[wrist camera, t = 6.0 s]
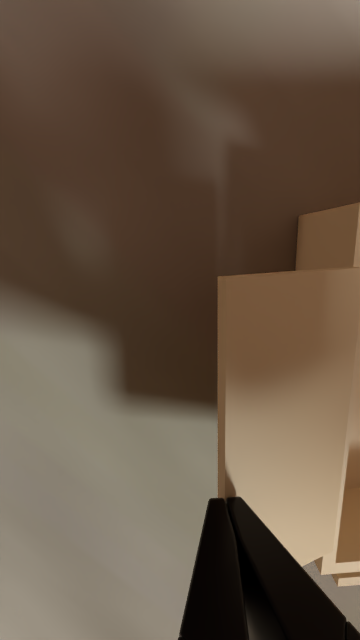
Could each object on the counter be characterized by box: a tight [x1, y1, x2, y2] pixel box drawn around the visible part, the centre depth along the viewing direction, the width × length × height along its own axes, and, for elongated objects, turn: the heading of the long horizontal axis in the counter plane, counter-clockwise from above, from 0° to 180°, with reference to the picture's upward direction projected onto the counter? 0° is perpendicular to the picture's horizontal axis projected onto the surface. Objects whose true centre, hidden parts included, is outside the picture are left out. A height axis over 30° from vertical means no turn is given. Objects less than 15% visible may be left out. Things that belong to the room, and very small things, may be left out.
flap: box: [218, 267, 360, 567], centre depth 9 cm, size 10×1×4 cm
